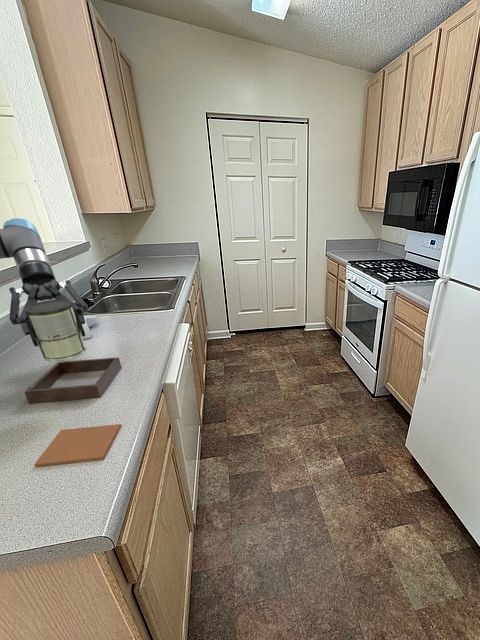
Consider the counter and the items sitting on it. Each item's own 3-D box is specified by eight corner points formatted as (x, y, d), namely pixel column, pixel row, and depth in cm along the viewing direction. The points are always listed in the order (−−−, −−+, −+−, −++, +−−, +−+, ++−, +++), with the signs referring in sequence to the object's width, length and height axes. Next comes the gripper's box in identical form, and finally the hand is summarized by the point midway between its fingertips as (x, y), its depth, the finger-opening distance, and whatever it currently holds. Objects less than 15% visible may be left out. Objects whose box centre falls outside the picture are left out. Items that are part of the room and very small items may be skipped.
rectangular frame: (29, 403, 94) (24, 391, 93) (62, 372, 111) (58, 361, 109) (100, 397, 97) (96, 385, 95) (121, 367, 114) (118, 357, 112)
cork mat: (35, 467, 72) (34, 464, 72) (62, 432, 83) (61, 429, 82) (103, 459, 74) (102, 456, 74) (121, 426, 84) (120, 423, 84)
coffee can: (35, 357, 91) (14, 308, 84) (72, 343, 99) (56, 297, 93) (58, 364, 87) (38, 313, 80) (95, 349, 95) (79, 302, 89)
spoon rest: (68, 325, 152) (63, 310, 149) (97, 320, 158) (93, 306, 154) (71, 342, 134) (65, 325, 131) (103, 335, 140) (98, 319, 137)
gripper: (83, 272, 102) (107, 335, 97) (-13, 284, 89) (10, 356, 85) (80, 256, 95) (106, 322, 91) (-24, 266, 83) (1, 343, 79)
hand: (60, 338), depth 88 cm, fingers closed on coffee can, 10 cm apart
